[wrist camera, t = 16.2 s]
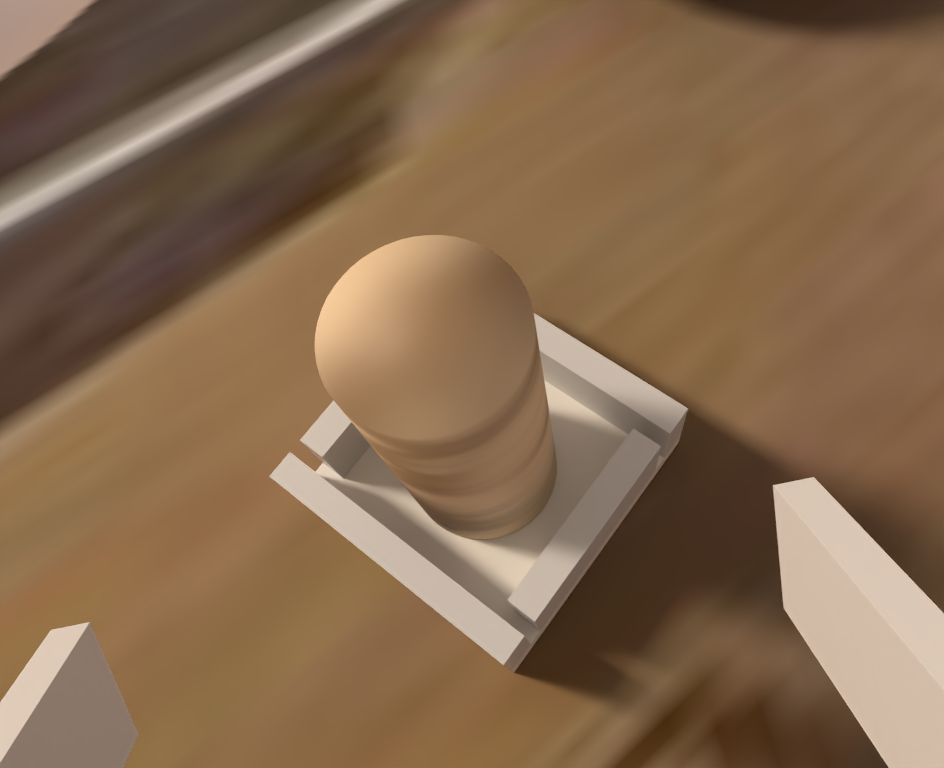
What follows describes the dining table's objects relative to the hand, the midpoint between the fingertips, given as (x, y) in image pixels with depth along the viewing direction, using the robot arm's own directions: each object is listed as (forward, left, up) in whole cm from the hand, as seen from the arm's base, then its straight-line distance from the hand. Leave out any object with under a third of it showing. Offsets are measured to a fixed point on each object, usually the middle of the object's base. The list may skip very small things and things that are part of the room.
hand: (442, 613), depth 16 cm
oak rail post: (-6, +6, -17) cm, 19 cm away
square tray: (-6, +6, -18) cm, 19 cm away
